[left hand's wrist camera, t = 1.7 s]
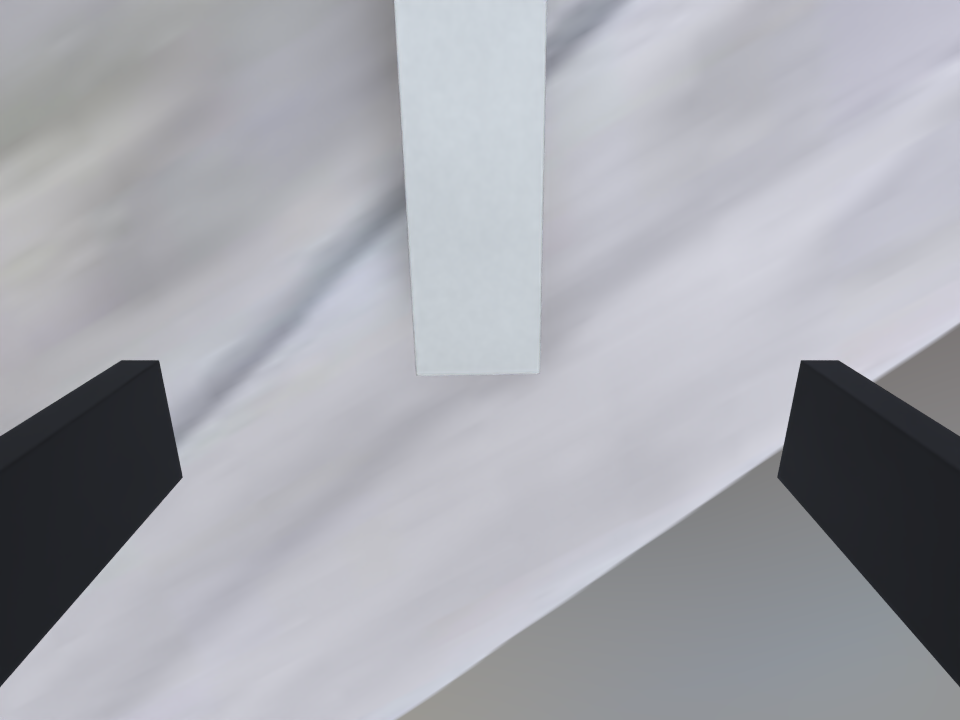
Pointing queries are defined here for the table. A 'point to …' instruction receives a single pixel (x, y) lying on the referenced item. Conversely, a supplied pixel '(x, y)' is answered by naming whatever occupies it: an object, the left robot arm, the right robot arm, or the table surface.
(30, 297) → the table surface
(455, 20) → the post
